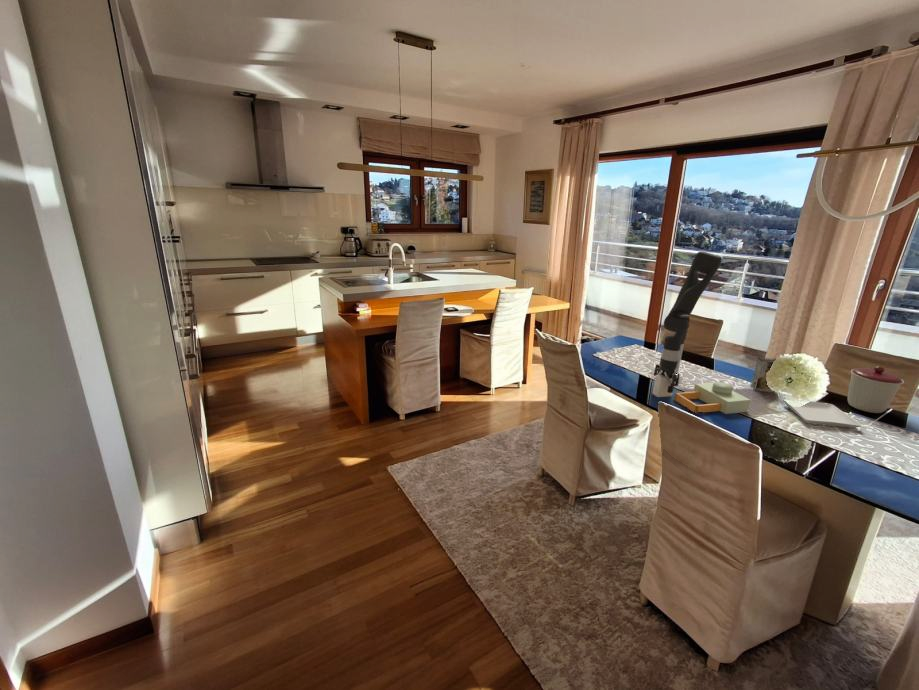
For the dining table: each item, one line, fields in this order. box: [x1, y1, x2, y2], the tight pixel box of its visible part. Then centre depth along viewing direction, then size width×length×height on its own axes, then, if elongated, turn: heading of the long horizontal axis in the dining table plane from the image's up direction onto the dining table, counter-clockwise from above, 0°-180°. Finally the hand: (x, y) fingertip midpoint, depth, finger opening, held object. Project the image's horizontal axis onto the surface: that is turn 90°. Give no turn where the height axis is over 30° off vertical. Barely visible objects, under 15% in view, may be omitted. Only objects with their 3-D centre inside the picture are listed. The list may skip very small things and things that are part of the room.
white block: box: [652, 375, 674, 398], centre depth 208 cm, size 4×8×10 cm, turn 103°
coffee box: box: [750, 356, 777, 393], centre depth 217 cm, size 9×6×16 cm
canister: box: [847, 365, 905, 414], centre depth 198 cm, size 18×18×21 cm
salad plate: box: [782, 398, 862, 429], centre depth 191 cm, size 21×21×3 cm
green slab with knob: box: [673, 381, 751, 415], centre depth 199 cm, size 20×25×9 cm
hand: (663, 389), depth 208 cm, fingers open, 8 cm apart
